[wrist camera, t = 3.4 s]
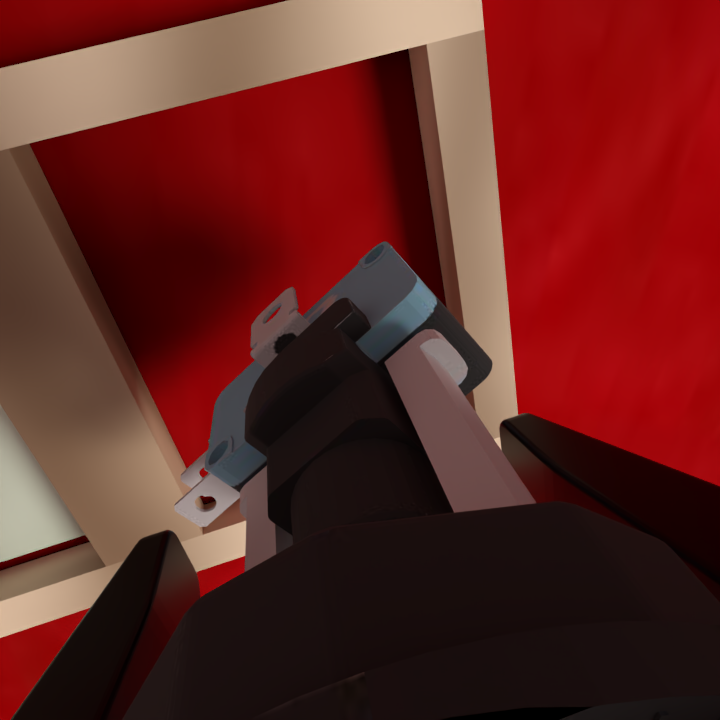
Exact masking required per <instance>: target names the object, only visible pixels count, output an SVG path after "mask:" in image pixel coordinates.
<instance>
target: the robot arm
mask: <svg viewBox="0 0 720 720" xmlns="http://www.w3.org/2000/svg"><path fill="white" fill-rule="evenodd" d="M499 432H500V441H501V450H502V452H503V454H504V455H505V457H506V458H507V460H508V461H509V463H510V464H511V466H512V467H513V469H514V470H515V472H516V473H517V475H518V476H519V478H520V479H521V481H522V482H523V484H524V485H525V487H526V488H527V490H528V491H529V492H530V494H531V495H532V497H533V498H534V500H535V501H536V503H542V502H550V501H561V502H568V503H572V504H576V505H579V506H581V507H583V508H586V509H588V510H591V511H593V512H596V513H598V514H600V515H603V516H605V517H608V518H610V519H612V520H615V521H617V522H620V523H622V524H625V525H627V526H629V527H632V528H634V529H637V530H639V531H641V532H644V533H646V534H649V535H651V536H654V537H656V538H658V539H660V540H661V541H663V542H665V543H666V544H667V545H668V546H669V547H670V548H671V549H672V550H673V551H674V552H675V553H676V554H677V555H678V557H679V558H680V559H681V560H682V561H683V562H684V563H685V564H686V565H687V567H688V568H689V569H690V570H691V571H692V572H693V573H694V574H695V575H696V577H697V578H698V579H699V580H700V581H701V582H702V583H703V584H704V585H705V587H706V588H707V589H708V590H709V591H710V592H711V593H712V594H713V595H714V597H715V598H716V599H717V600H718V601H719V602H720V486H717V485H715V484H712V483H710V482H707V481H704V480H702V479H699V478H697V477H694V476H691V475H689V474H686V473H684V472H681V471H678V470H676V469H673V468H671V467H668V466H665V465H663V464H660V463H658V462H655V461H652V460H650V459H647V458H644V457H642V456H639V455H637V454H634V453H631V452H629V451H626V450H624V449H621V448H618V447H616V446H613V445H611V444H608V443H605V442H603V441H600V440H598V439H595V438H592V437H590V436H587V435H585V434H582V433H579V432H577V431H574V430H572V429H569V428H566V427H564V426H561V425H559V424H556V423H553V422H551V421H548V420H546V419H543V418H540V417H538V416H535V415H533V414H529V413H523V414H520V415H517V416H514V417H511V418H508V419H505V420H503V421H502V422H501V423H500V427H499ZM199 598H200V589H199V582H198V577H197V574H196V571H195V568H194V566H193V564H192V563H191V561H190V559H189V557H188V555H187V553H186V552H185V550H184V548H183V546H182V544H181V542H180V540H179V539H178V537H177V535H176V534H175V533H174V532H173V531H171V530H164V531H161V532H158V533H155V534H152V535H149V536H146V537H143V538H141V539H140V540H139V541H138V542H137V543H136V545H135V546H134V548H133V549H132V550H131V552H130V553H129V555H128V556H127V557H126V559H125V560H124V562H123V563H122V564H121V566H120V567H119V569H118V570H117V571H116V573H115V574H114V576H113V577H112V578H111V580H110V581H109V583H108V584H107V585H106V587H105V588H104V590H103V591H102V592H101V594H100V595H99V597H98V598H97V599H96V601H95V602H94V604H93V605H92V606H91V608H90V609H89V611H88V612H87V613H86V615H85V616H84V618H83V619H82V620H81V622H80V623H79V625H78V626H77V627H76V629H75V630H74V632H73V633H72V634H71V636H70V637H69V639H68V640H67V641H66V643H65V644H64V646H63V647H62V648H61V650H60V651H59V653H58V654H57V655H56V657H55V658H54V660H53V661H52V662H51V664H50V665H49V667H48V668H47V669H46V671H45V672H44V674H43V675H42V676H41V678H40V679H39V681H38V682H37V683H36V685H35V686H34V688H33V689H32V690H31V692H30V693H29V695H28V696H27V697H26V699H25V700H24V702H23V703H22V704H21V706H20V707H19V709H18V710H17V711H16V713H15V714H14V716H13V717H12V718H11V720H122V719H123V717H124V715H125V714H126V712H127V710H128V709H129V707H130V705H131V704H132V702H133V700H134V699H135V697H136V695H137V694H138V692H139V690H140V688H141V687H142V685H143V683H144V682H145V680H146V678H147V677H148V675H149V673H150V672H151V670H152V668H153V667H154V665H155V663H156V661H157V660H158V658H159V656H160V655H161V653H162V651H163V650H164V648H165V646H166V645H167V643H168V641H169V639H170V638H171V636H172V634H173V633H174V631H175V629H176V628H177V626H178V624H179V623H180V621H181V619H182V618H183V616H184V614H185V613H186V612H187V611H188V609H189V608H190V607H191V606H192V605H193V604H194V603H195V602H196V601H197V600H198V599H199Z"/></svg>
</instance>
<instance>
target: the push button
mask: <svg viewBox="0 0 720 720" xmlns="http://www.w3.org/2000/svg"><path fill="white" fill-rule="evenodd" d="M358 263H359V264H358V265H357V266H356V267H355V268H353V269H352V270H351V271H350V272H349V273H348V274H347V275H346V276H345V277H344V278H343V279H342V280H341V281H340V282H338V283H337V284H336V285H335V286H334V287H333V288H332V289H331V290H330V291H329V292H328V293H327V294H326V295H325V296H323V297H322V298H321V299H320V300H319V301H318V302H317V303H316V304H315V305H314V306H313V307H312V308H311V309H310V310H308V311H307V312H306V313H305V314H304V315H303V316H302V315H301V314H300V313H299V312H298V311H297V310H298V302H297V297H296V291H295V289H294V288H293V287H291V288H288V289H286V290H285V291H284V292H283V293H282V294H281V295H280V296H279V297H278V298H276V299H275V300H274V301H273V302H272V303H271V304H270V305H269V306H268V307H267V308H266V309H265V310H264V311H263V312H262V313H261V314H260V315H259V316H258V317H257V318H256V320H255V321H254V322H253V324H252V325H251V348H253V350H252V351H251V353H250V354H251V356H252V357H253V358H254V359H255V361H254V362H253V363H252V364H251V365H250V366H248V367H247V368H246V369H245V370H244V371H243V372H242V373H241V374H240V375H239V376H238V377H237V378H236V379H235V380H233V381H232V382H231V383H230V384H229V385H228V386H227V387H226V388H225V389H224V390H223V391H222V393H221V394H220V396H219V397H218V399H217V400H216V403H215V406H214V413H213V421H212V428H211V435H210V439H209V440H208V442H209V449H208V450H207V451H206V452H205V453H204V454H203V455H201V456H200V457H199V458H198V459H197V460H196V461H195V462H194V463H193V464H192V465H190V466H189V467H188V468H187V469H186V470H185V471H184V472H183V473H182V474H181V476H180V477H181V481H182V482H183V483H185V484H186V485H188V486H189V487H191V488H192V489H191V490H190V491H188V492H187V493H186V494H185V495H184V496H183V497H182V498H181V499H180V500H178V501H177V502H176V503H175V506H174V507H175V511H176V512H177V513H179V514H180V515H182V516H184V517H185V518H187V519H188V520H190V521H192V522H193V523H195V524H196V525H198V526H200V527H207V526H208V525H209V524H210V523H211V522H212V521H213V520H215V519H216V518H217V517H218V516H219V515H220V514H221V513H223V512H224V511H225V510H226V509H227V508H228V507H229V506H231V505H232V504H233V503H234V502H235V501H236V500H237V499H239V498H240V513H241V514H242V515H243V516H244V517H245V518H246V548H245V572H244V573H242V574H240V575H239V576H237V577H235V578H233V579H232V580H230V581H228V582H226V583H225V584H223V585H221V586H219V587H217V588H216V589H214V590H212V591H210V592H209V593H207V594H205V595H204V596H202V597H201V598H199V599H198V600H197V601H196V602H195V603H194V604H193V605H192V606H191V607H190V608H189V609H188V611H187V612H186V613H185V614H184V616H183V618H182V619H181V621H180V623H179V624H178V626H177V628H176V629H175V631H174V633H173V634H172V636H171V638H170V639H169V641H168V643H167V645H166V646H165V648H164V650H163V651H162V653H161V655H160V656H159V658H158V660H157V661H156V663H155V665H154V667H153V668H152V670H151V672H150V673H149V675H148V677H147V678H146V680H145V682H144V683H143V685H142V687H141V688H140V690H139V692H138V694H137V695H136V697H135V699H134V700H133V702H132V704H131V705H130V707H129V709H128V710H127V712H126V714H125V715H124V717H123V719H122V720H720V602H719V601H718V600H717V599H716V598H715V597H714V595H713V594H712V593H711V592H710V591H709V590H708V589H707V588H706V587H705V585H704V584H703V583H702V582H701V581H700V580H699V579H698V578H697V577H696V575H695V574H694V573H693V572H692V571H691V570H690V569H689V568H688V567H687V565H686V564H685V563H684V562H683V561H682V560H681V559H680V558H679V557H678V555H677V554H676V553H675V552H674V551H673V550H672V549H671V548H670V547H669V546H668V545H667V544H666V543H665V542H663V541H661V540H660V539H658V538H656V537H654V536H651V535H649V534H646V533H644V532H641V531H639V530H637V529H634V528H632V527H629V526H627V525H625V524H622V523H620V522H617V521H615V520H612V519H610V518H608V517H605V516H603V515H600V514H598V513H596V512H593V511H591V510H588V509H586V508H583V507H581V506H579V505H576V504H572V503H568V502H561V501H550V502H542V503H536V501H535V500H534V498H533V497H532V495H531V494H530V492H529V491H528V490H527V488H526V487H525V485H524V484H523V482H522V481H521V479H520V478H519V476H518V475H517V473H516V472H515V470H514V469H513V467H512V466H511V464H510V463H509V461H508V460H507V458H506V457H505V455H504V454H503V452H502V451H501V449H500V448H499V446H498V445H497V443H496V442H495V440H494V439H493V437H492V436H491V434H490V433H489V431H488V430H487V428H486V427H485V425H484V424H483V422H482V421H481V419H480V418H479V416H478V415H477V413H476V412H475V410H474V409H473V407H472V406H471V404H470V403H469V401H468V400H467V399H466V397H465V396H466V395H467V394H469V393H470V392H471V391H472V390H473V389H475V388H476V387H477V386H478V385H479V384H481V383H482V382H483V381H484V380H485V379H486V378H487V377H488V376H489V374H490V372H491V370H492V364H493V363H492V360H491V359H490V357H489V356H488V355H487V354H486V353H485V352H484V350H483V349H482V348H481V347H480V346H479V345H478V344H477V342H476V341H475V340H474V339H473V338H472V337H471V335H470V334H469V333H468V332H467V331H466V330H465V329H464V327H463V326H462V325H461V324H460V323H459V322H458V320H457V319H456V318H455V317H454V316H453V315H452V314H451V312H450V311H449V310H448V309H447V308H446V307H445V306H444V305H443V304H442V302H441V301H440V300H439V299H438V298H437V297H436V296H435V295H434V293H433V292H432V291H431V290H430V289H429V288H428V287H427V286H426V285H425V283H424V282H423V281H422V280H421V279H420V278H419V277H418V276H417V274H416V273H415V272H414V271H413V270H412V269H411V268H410V267H409V265H408V264H407V263H406V262H405V261H404V260H403V259H402V258H401V257H400V255H399V254H398V253H397V252H396V251H395V250H394V249H393V248H392V246H391V245H390V244H389V243H388V242H382V243H380V244H378V245H377V246H375V247H374V248H373V249H371V250H370V251H369V252H368V253H367V254H366V255H365V256H364V257H363V258H362V259H361V260H360V261H359V262H358ZM279 307H281V308H280V310H279V311H278V313H277V314H276V315H275V316H274V317H273V318H272V319H271V320H270V321H269V322H267V320H268V318H269V317H270V316H271V315H272V314H273V313H274V311H276V310H277V309H278V308H279ZM266 322H267V323H266ZM202 468H204V470H205V471H207V472H208V474H207V475H206V476H205V477H204V478H202V477H201V476H200V474H199V471H200V470H201V469H202ZM202 495H203V496H204V497H205V496H212V497H213V498H215V500H216V504H215V506H214V507H212V508H210V509H200V508H199V507H197V506H196V504H195V500H196V499H197V498H198V497H199V496H202Z"/></svg>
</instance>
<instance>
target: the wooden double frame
mask: <svg viewBox="0 0 720 720" xmlns="http://www.w3.org/2000/svg"><path fill="white" fill-rule="evenodd" d="M405 49H408V51H409V58H410V64H411V71H412V78H413V85H414V91H415V98H416V105H417V111H418V118H419V125H420V131H421V138H422V145H423V152H424V158H425V165H426V172H427V178H428V185H429V192H430V199H431V205H432V212H433V219H434V225H435V232H436V239H437V246H438V252H439V259H440V266H441V272H442V279H443V286H444V293H445V299H446V306H447V309H448V310H449V311H450V312H451V314H452V315H453V316H454V317H455V318H456V319H457V320H458V322H459V323H460V324H461V325H462V326H463V327H464V329H465V330H466V331H467V332H468V333H469V334H470V335H471V337H472V338H473V339H474V340H475V341H476V342H477V344H478V345H479V346H480V347H481V348H482V349H483V350H484V352H485V353H486V354H487V355H488V356H489V357H490V359H491V360H492V363H493V364H492V370H491V372H490V374H489V376H488V377H487V378H486V379H485V380H484V381H483V382H482V383H481V384H479V385H478V386H477V387H476V388H475V389H473V390H472V391H471V392H470V393H469V394H467V395H466V396H465V397H466V399H467V400H468V401H469V403H470V404H471V406H472V407H473V409H474V410H475V412H476V413H477V415H478V416H479V418H480V419H481V421H482V422H483V424H484V425H485V427H486V428H487V430H488V431H489V433H490V434H491V436H492V437H493V439H494V440H495V442H496V443H497V445H498V446H499V448H500V449H501V441H500V432H499V427H500V423H501V422H502V421H503V420H505V419H508V418H511V417H514V416H517V415H518V410H517V399H516V387H515V376H514V365H513V353H512V342H511V331H510V319H509V308H508V296H507V285H506V274H505V262H504V251H503V240H502V228H501V217H500V205H499V194H498V183H497V171H496V160H495V149H494V137H493V126H492V114H491V103H490V92H489V80H488V69H487V58H486V46H485V35H484V23H483V12H482V1H481V0H288V1H284V2H280V3H275V4H271V5H267V6H263V7H258V8H254V9H250V10H246V11H241V12H237V13H233V14H229V15H224V16H220V17H216V18H212V19H207V20H203V21H199V22H195V23H190V24H186V25H182V26H178V27H173V28H169V29H165V30H161V31H156V32H152V33H148V34H144V35H139V36H135V37H131V38H127V39H122V40H118V41H114V42H110V43H105V44H101V45H97V46H93V47H89V48H84V49H80V50H76V51H72V52H67V53H63V54H59V55H55V56H50V57H46V58H42V59H38V60H33V61H29V62H25V63H21V64H16V65H12V66H8V67H4V68H0V562H3V561H6V560H9V559H12V558H16V557H19V556H22V555H25V554H28V553H31V552H34V551H37V550H40V549H43V548H47V547H50V546H53V545H56V544H59V543H62V542H65V541H68V540H71V539H74V538H78V537H81V536H84V535H86V536H87V538H88V540H89V541H90V542H88V543H85V544H81V545H78V546H75V547H72V548H69V549H66V550H63V551H60V552H57V553H54V554H51V555H48V556H44V557H41V558H38V559H35V560H32V561H29V562H26V563H23V564H20V565H17V566H14V567H10V568H7V569H4V570H1V571H0V638H1V637H4V636H7V635H10V634H13V633H16V632H19V631H22V630H25V629H28V628H31V627H34V626H37V625H40V624H43V623H46V622H49V621H52V620H55V619H58V618H61V617H64V616H67V615H70V614H72V613H75V612H78V611H81V610H84V609H87V608H90V607H91V606H92V605H93V604H94V602H95V601H96V599H97V598H98V597H99V595H100V594H101V592H102V591H103V590H104V588H105V587H106V585H107V584H108V583H109V581H110V580H111V578H112V577H113V576H114V574H115V573H116V571H117V570H118V569H119V567H120V566H121V564H122V563H123V562H124V560H125V559H126V557H127V556H128V555H129V553H130V552H131V550H132V549H133V548H134V546H135V545H136V543H137V542H138V541H139V540H140V539H141V538H143V537H146V536H149V535H152V534H155V533H158V532H161V531H164V530H171V531H173V532H174V533H175V534H176V535H177V537H178V539H179V540H180V542H181V544H182V546H183V548H184V550H185V552H186V553H187V555H188V557H189V559H190V561H191V563H192V564H193V566H194V568H195V571H196V572H198V571H201V570H204V569H207V568H210V567H212V566H215V565H218V564H221V563H224V562H227V561H230V560H233V559H236V558H239V557H242V556H245V548H246V518H245V517H244V516H243V515H242V514H241V513H240V498H239V499H237V500H236V501H235V502H234V503H233V504H232V505H231V506H229V507H228V508H227V509H226V510H225V511H224V512H223V513H221V514H220V515H219V516H218V517H217V518H216V519H215V520H213V521H212V522H211V523H210V524H209V525H208V526H207V527H200V526H198V525H196V524H195V523H193V522H192V521H190V520H188V519H187V518H185V517H184V516H182V515H180V514H179V513H177V512H176V511H175V507H174V506H175V503H176V502H177V501H178V500H180V499H181V498H182V497H183V496H184V495H185V494H186V493H187V492H188V491H190V490H191V489H192V488H191V487H189V486H188V485H186V484H185V483H183V482H182V481H181V477H180V476H181V474H182V473H183V472H184V471H185V470H186V467H185V465H184V463H183V461H182V459H181V456H180V454H179V452H178V450H177V448H176V446H175V444H174V442H173V440H172V438H171V436H170V434H169V432H168V430H167V428H166V425H165V423H164V421H163V419H162V417H161V415H160V413H159V411H158V409H157V407H156V405H155V403H154V401H153V399H152V397H151V394H150V392H149V390H148V388H147V386H146V384H145V382H144V380H143V378H142V376H141V374H140V372H139V370H138V368H137V366H136V363H135V361H134V359H133V357H132V355H131V353H130V351H129V349H128V347H127V345H126V343H125V341H124V339H123V337H122V335H121V332H120V330H119V328H118V326H117V324H116V322H115V320H114V318H113V316H112V314H111V312H110V310H109V308H108V306H107V303H106V301H105V299H104V297H103V295H102V293H101V291H100V289H99V287H98V285H97V283H96V281H95V279H94V277H93V275H92V272H91V270H90V268H89V266H88V264H87V262H86V260H85V258H84V256H83V254H82V252H81V250H80V248H79V246H78V244H77V241H76V239H75V237H74V235H73V233H72V231H71V229H70V227H69V225H68V223H67V221H66V219H65V217H64V215H63V213H62V210H61V208H60V206H59V204H58V202H57V200H56V198H55V196H54V194H53V192H52V190H51V188H50V186H49V184H48V182H47V179H46V177H45V175H44V173H43V171H42V169H41V167H40V165H39V163H38V161H37V159H36V157H35V155H34V153H33V151H32V148H31V146H30V144H29V143H33V142H37V141H41V140H45V139H49V138H53V137H57V136H61V135H65V134H69V133H73V132H77V131H81V130H85V129H89V128H93V127H97V126H101V125H105V124H109V123H113V122H117V121H121V120H125V119H129V118H133V117H137V116H141V115H145V114H149V113H153V112H157V111H161V110H165V109H169V108H173V107H177V106H181V105H185V104H189V103H193V102H197V101H201V100H205V99H209V98H213V97H217V96H221V95H225V94H229V93H233V92H237V91H241V90H245V89H249V88H253V87H257V86H261V85H265V84H269V83H273V82H277V81H281V80H285V79H289V78H293V77H297V76H301V75H305V74H309V73H313V72H317V71H321V70H325V69H329V68H333V67H337V66H341V65H345V64H349V63H353V62H357V61H361V60H365V59H369V58H373V57H377V56H381V55H385V54H389V53H393V52H397V51H401V50H405ZM501 451H502V450H501ZM195 504H196V506H197V507H199V508H200V509H210V508H212V507H214V506H215V504H216V501H214V502H211V503H208V504H205V505H204V504H203V502H202V500H201V498H200V496H199V497H198V498H197V499H196V500H195Z"/></svg>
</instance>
